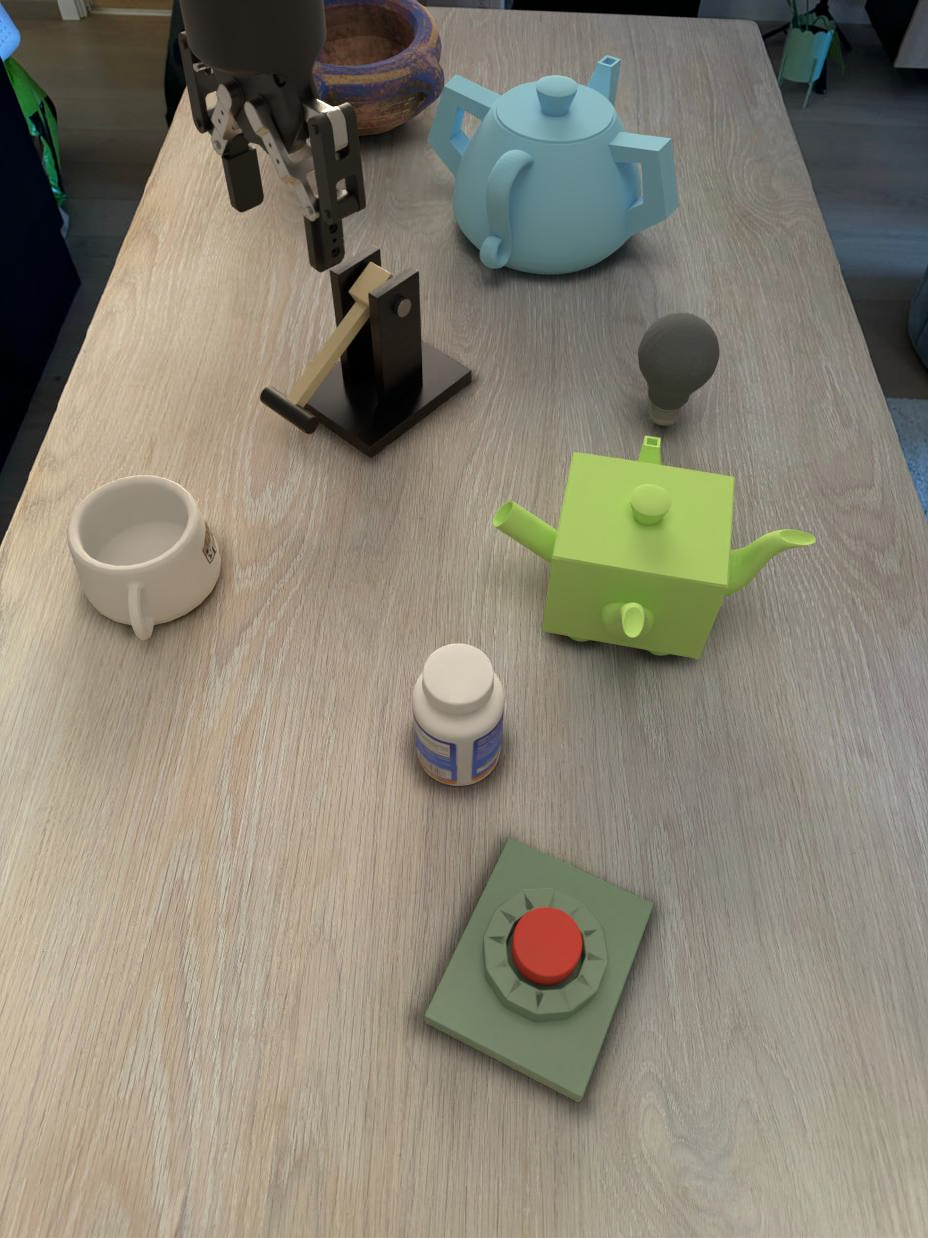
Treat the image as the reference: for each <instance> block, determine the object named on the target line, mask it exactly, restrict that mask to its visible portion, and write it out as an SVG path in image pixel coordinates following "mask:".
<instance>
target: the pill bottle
mask: <svg viewBox="0 0 928 1238" xmlns="http://www.w3.org/2000/svg"><path fill="white" fill-rule="evenodd" d="M418 676H419V677H418V678H417V680H416V682H415V684H414V687H413V691H412V696H411V703H412V704H411V706H412V716H413V717H412V719H413V728H414V741H415V751H416V755H417V759H418V762H419V764H420V766H421V767H422V769H423V770H424V772H425V773H426V774H427V775H428V776H429V777H430V778H431V779H433V780H435V781H437V782H439V783H442V784H444V785H448V786H453V787H454V786H455V787H463V786H470V785H474V784H476V783H478V782H480V781H482V780H484V779H485V778H486V777H488V776H489V775H490V774H491V773H492V771H494V769H495V768H496V766H497V764H498V762H499V759H500V754H501V752H502V751H501V750H502V742H503V741H502V740H503V730H504V729H503V727H504V715H505V691H504V687H503V684H502V682H501V679H500V678H499V676H498V675H497V674H496V672H494V667H493V664H492V662H491V660H490V659H489V657H488V656H487V655H486V653H484V652H483V651H482V650H480V649H479V648H477V647H476V646H474V645H472V644H471V645H470V644H467V643H450V644H449V643H448V644H445V645H443V646H441V647H439V648H437V649H436V650H434V651H433V652H431V654H430V655H429V656H428V657H427V659H426V661H425V663H424V665H423V669H422V672H421V674H420V675H418Z"/></svg>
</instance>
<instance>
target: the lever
mask: <svg viewBox="0 0 928 1238" xmlns="http://www.w3.org/2000/svg"><path fill="white" fill-rule="evenodd" d="M392 277H394V275H393V274H392V273H391V272H389V271H388V270H386V269H384V268H383V267H382V268H381V267H379V266H377V265H376V264H374V263H372V262H370V263H369V264H368V265H367V267H366V268H365V270H364V271H363V272H362V274H361V275H360V276H359V278H358V279H357V280H356V282H355V283H354V285H353V286H352V287H351V289H350V290H349V293H350V295H351V296H352V297H353V298H354V300H355V301H356V302H355V304H354V305H353V306H352V308H351V309H350V311H349V312H348V313H347V315H346V316H345V317H344V319H343V320H342V322H341V323H340V324H339V326H338V327H337V328H336V329H335V330H334V331H333V332H332V333H331V335H330V336H329V338H327V339H328V340H326V342H325V343H324V345H323V346H322V347H321V349H320V350H319V351H318V352H317V354H316V356H315V357H314V359H313V360H312V361H311V363H310V364H309V365H308V367H307V368H306V369H305V371H303V373H302V374H301V376H300V378H299V379H298V380H297V382H296V383H295V385H294V386H293V387H292V388H291V390H290V391H289V393H288V394H287V395H285V394H284V393H282V391H279V390H278V389H276V388H275V387H274V386H272V385H268V386H265V387H264V388H263V389H262V391H260V394H259V400H260V402H261V403H262V404H263V405H264V406H266V407H267V408H269V409H270V410H272V411H273V412H274V413H276V414H277V415H278V416H280V417H281V418H283V419H284V420H286V421H287V422H289V423H290V424H292V425H293V426H294V427H296V428H298V429H299V430H300V431H302V432H303V433H304V434H306V435H312V434H313V433H315V432H316V430H317V429H318V428H319V425H320V422H319V420H318V418H317V417H316V416H314V415H313V414H311V413H310V412H308V411H307V410H305V409H304V408H303V407H304V406H305V404H306V403H307V402H308V400H309V399H310V398H311V396H312V395H313V394H314V392H315V391H316V389H317V388H318V387H319V385H320V384H321V383H322V381H323V380H324V378H325V377H326V376H327V374H328V373H329V372H330V370H331V369H332V367H333V366H334V365H335V364H337V363H338V362H339V359H340V356H341V355H342V354H343V352H344V351H345V350H346V348H347V347H348V346H349V344H350V343H351V341H352V340H353V339H354V337H355V336H356V335H357V333H358V332H359V330H360V329H361V328H362V326H363V325H364V324H365V322H366V321H367V319H368V318H369V317H370V310H369V299H368V293H369V292H371V291H372V290H374V289H375V288H377V287H378V286H380V285H382V284H383V283H385V282H386V281H388V280H389V279H391V278H392Z"/></svg>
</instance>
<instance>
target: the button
mask: <svg viewBox="0 0 928 1238" xmlns="http://www.w3.org/2000/svg"><path fill="white" fill-rule="evenodd" d="M582 945H583V943H582V936H581V932H580V930H579V928H578V926H577V924H576V922H575V921H574V920H573V919H572V918H571V917H570V916H569V915H568V914H566V913H565V912H563V911H561V910H559V909H556V908H552V907H540V908H536V909H533V910H531V911H529V912H528V913H526V914H525V915H524V916H523V917H522V918H521V919H520V920H519V922H518V923H517V925H516V928H515V930H514V935H513V940H512V957H513V960H514V963H515V965H516V967H517V969H518V970H519V971H520V973H521V974H522V975H523V976H524V977H526V978H527V979H528V980H530V981H532V982H534V983H537V984H541V985H553V984H557V983H560V982H562V981H564V980H565V979H567V978H568V977H569V976H570V975H571V974H572V973H573V971H574V970H575V968H576V966H577V963H578V961H579V958H580V956H581V953H582Z"/></svg>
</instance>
